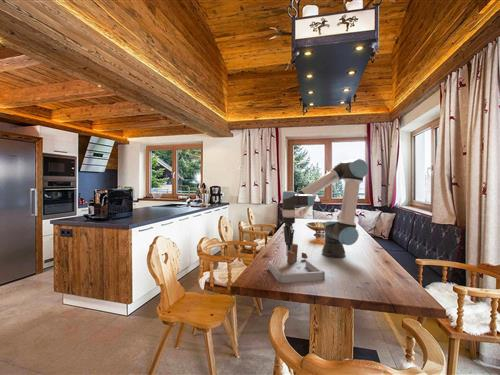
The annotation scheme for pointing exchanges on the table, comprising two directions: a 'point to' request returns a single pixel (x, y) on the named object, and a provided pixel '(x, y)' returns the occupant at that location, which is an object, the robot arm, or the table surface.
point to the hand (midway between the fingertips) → (288, 255)
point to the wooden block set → (294, 254)
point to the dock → (298, 274)
